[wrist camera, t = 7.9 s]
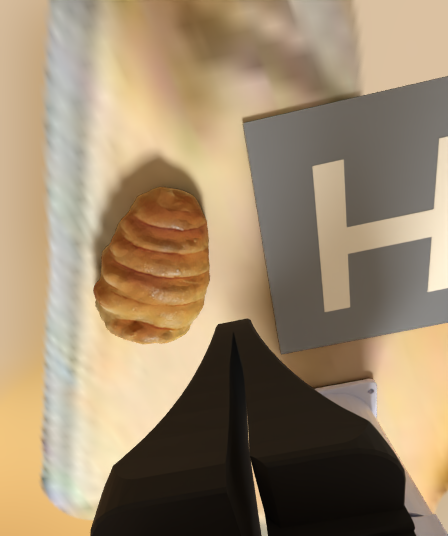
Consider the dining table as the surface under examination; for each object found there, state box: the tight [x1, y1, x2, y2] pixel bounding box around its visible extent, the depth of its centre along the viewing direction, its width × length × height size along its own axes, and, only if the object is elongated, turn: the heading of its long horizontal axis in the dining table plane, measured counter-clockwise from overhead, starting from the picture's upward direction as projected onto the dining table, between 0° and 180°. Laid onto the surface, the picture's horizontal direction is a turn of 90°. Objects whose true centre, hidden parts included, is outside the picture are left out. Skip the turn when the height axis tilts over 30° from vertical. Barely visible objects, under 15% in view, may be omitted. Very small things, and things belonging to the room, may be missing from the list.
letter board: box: [243, 76, 448, 354], centre depth 19 cm, size 16×16×1 cm
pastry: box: [93, 187, 210, 344], centre depth 18 cm, size 9×7×4 cm
